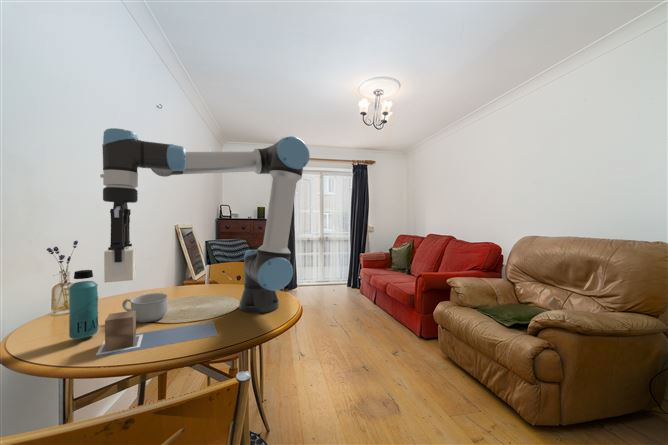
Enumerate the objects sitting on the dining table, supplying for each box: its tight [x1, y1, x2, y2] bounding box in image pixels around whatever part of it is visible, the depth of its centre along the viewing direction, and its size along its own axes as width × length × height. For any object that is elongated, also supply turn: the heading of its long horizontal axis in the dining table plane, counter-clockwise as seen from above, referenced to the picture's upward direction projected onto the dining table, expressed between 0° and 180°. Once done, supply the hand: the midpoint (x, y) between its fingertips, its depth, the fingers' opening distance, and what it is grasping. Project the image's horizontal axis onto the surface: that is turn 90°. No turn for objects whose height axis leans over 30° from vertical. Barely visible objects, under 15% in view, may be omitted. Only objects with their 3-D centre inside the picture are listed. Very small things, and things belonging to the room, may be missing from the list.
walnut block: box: [104, 310, 137, 351], centre depth 77 cm, size 6×6×8 cm
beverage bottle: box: [68, 269, 99, 340], centre depth 81 cm, size 6×7×20 cm
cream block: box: [103, 248, 136, 283], centre depth 77 cm, size 6×6×8 cm
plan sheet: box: [95, 321, 219, 359], centre depth 82 cm, size 29×13×1 cm, turn 120°
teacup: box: [122, 292, 169, 324], centre depth 96 cm, size 14×11×8 cm
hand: (120, 271), depth 77 cm, fingers closed on cream block, 6 cm apart
